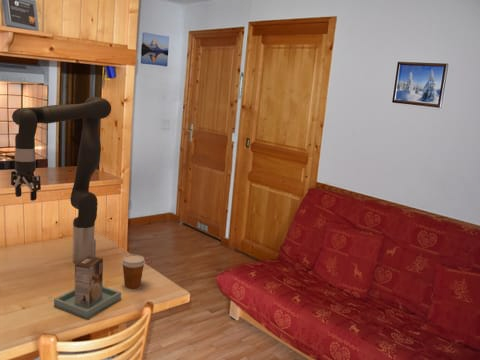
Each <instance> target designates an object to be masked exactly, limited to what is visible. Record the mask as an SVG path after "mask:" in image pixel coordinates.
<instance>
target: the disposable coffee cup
mask: <svg viewBox="0 0 480 360" xmlns="http://www.w3.org/2000/svg"><path fill="white" fill-rule="evenodd" d="M121 264H122V272H123V281H124V287H125V288H126V289H132V290H134V289H138V288H140V286H141V282H142V278H143V271H144V266H145V264H146V260H145V257H144V256H142V255H139V254H128V255H125V256H124V257H122V260H121Z"/></svg>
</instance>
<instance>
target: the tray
mask: <svg viewBox="0 0 480 360" xmlns="http://www.w3.org/2000/svg"><path fill="white" fill-rule="evenodd" d="M121 300H122V292H121V291H118V290H116V289H112V288H109V287H107V286H104V285H102V297H101V298H100V299H99V300H98V301H97V302H95V303H94V304H93V305H92V306H91V307H85V306H80V305H76V304H75V288H74V289H72V290H70V291H68V292H65V293H64V294H62V295H60V296H58V297H56V298H53V307H54V308H56V309H58V310H61V311H64V312H67V313H70V314H72V315H75V316H77V317H80V318H83V319H84V318H85V319H84V320H89V319H91V318H92V317H94V316H96V315H97V314H99V313H101V312H102V311H104V310H106V309H107V308H109V307H110V306H112V305H114V304H115V303H117V302H119V301H121Z"/></svg>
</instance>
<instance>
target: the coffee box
mask: <svg viewBox="0 0 480 360" xmlns="http://www.w3.org/2000/svg"><path fill="white" fill-rule="evenodd" d="M103 267H104V259H103V258H102V257H97V256H96V257H90V256H88V257H86V258H85V259H83V260H82V261H80V262H79V263H75V264H74V289H75V304H76V305H80V306H85V307H91V306H92V305H93V304H94V303H95V302H97V301H98V300H99V299H100V298H101V297H102V286H103V278H104V277H103V274H104V271H103V270H104V268H103Z"/></svg>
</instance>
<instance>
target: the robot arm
mask: <svg viewBox="0 0 480 360" xmlns="http://www.w3.org/2000/svg"><path fill="white" fill-rule="evenodd" d="M111 112H112V105H111V103H110V101H108V100H107V99H106V98H103V97H99V96H90V97H87V98H86V99H85V101H84V103H74V104H73V103H72V104H71V103H70V104H51V105H44V106H38V107H36V106H35V107H33V106H32V107H31V106H30V107H20V108H16V109H15V110H14V111H13V112H12V113H11V114H12V115H11V119H12V122H14V124H16V125H17V126H18V132H17V133H16V134H15V136H14V137H15V138H14V140H15V141H14V145H15V146H14V147H15V149H14V170H12V171H10V185H11V186H13V188H14V191H15V192H14V193H15V197H17V198H19V197H22V187H23V185H25V186H26V188H28V189H29V193H30V194H29V195H30V196H29V197H30V201H31V202H32V201H34V202H35V201H37V196H38V195H37V192H38V191H41V190H42V187H41V186H42V185H41V176H40V175H35V171H36V169H37V166H36V165H37V164H36V163H37V161H36V159H37V158H36V154H37V153H36V143H35V142H36V141H35V139H36V135H37V129H38V124H44V125H45V124H53V123H54V124H55V123H60V122H66V121H67V122H68V121H72V120H73V121H74V120H81V119H82V128H81V129H82V130H81V136H80V143H79V150H78V154H77V155H78V156H77V163H76V164H77V165H76V170H75V171H76V172H75V177H74V181H73V186H72V190H71V193H70V200H69V201H70V204H71V206H72V207H73V208H74V209H76V210H77V211H78V213H77V217H74V219H73V221H72V224H73V225H72V226H73V227H72V229H73V230H72V262H73V263H75V264H77V263H79V262H80V261H82V260H83V259H85V258H86V257H88V256H90V257H96V258H97V256H96V255H97V254H96V247H97V245H96V244H97V243H96V242H97V240H96V238H95V226H96V225H95V224H96V220H97V217H98V197H97V196H96V194H95V193H93V192H90V191H89V189H90V182H91V179H92V176H93V174H94V173H95V172H96V170H97V169H98V167H99V164H100V160H101V153H102V145H101V139H100V135H99V125H100V120H102V119H105V118H107V117H109V116H110V114H111Z"/></svg>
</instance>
